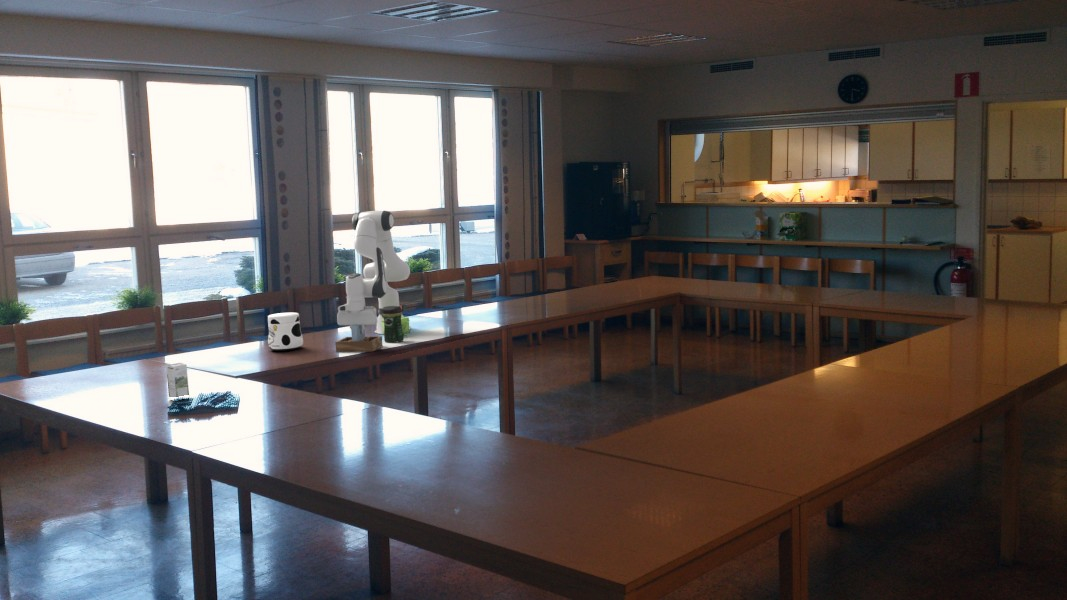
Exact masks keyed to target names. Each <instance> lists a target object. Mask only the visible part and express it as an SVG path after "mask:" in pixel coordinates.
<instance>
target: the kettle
mask: <svg viewBox="0 0 1067 600" xmlns="http://www.w3.org/2000/svg"><path fill="white" fill-rule="evenodd" d="M382 322H383V334H382V335H384V319H383V321H382ZM410 322H411V321H410V318H409V317H406V316H404V317H401V324H402V331H403V337H406V336H407V335H406V334H409V333H410V332H411V331H410V330H411V328H410V329H409V326H410Z"/></svg>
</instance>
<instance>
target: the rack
mask: <svg viewBox="0 0 1067 600" xmlns="http://www.w3.org/2000/svg"><path fill="white" fill-rule="evenodd" d="M334 344H335V352H336V353H346V352H347V353H348V352H349V353H353V352H355V353H357V352H358V353H360V352H361V353H362V352H363V353H365V352H370V353H371V352H374V351H376V350H378V349H380V348H382V347H383V336H381V335H380V336H379V335H378V336H365V339H363V340H361V341H352V336H345V337H343V338H341V339H339V340H336V341H335V342H334Z"/></svg>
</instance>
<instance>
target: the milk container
mask: <svg viewBox="0 0 1067 600" xmlns="http://www.w3.org/2000/svg"><path fill="white" fill-rule="evenodd" d="M267 325H268V326H267V327H268V337H267V343H268V348H269V349H270V350H272V351H275V352H276V351H277V352H284V351H285V352H286V351H287V350H288V351H294V350H298V349H300V348H301V347H303V344H304V337H303V334H302V331H301V322H300V313H299V312H280V313H279V312H278V313H273V314H269V315H267Z"/></svg>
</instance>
